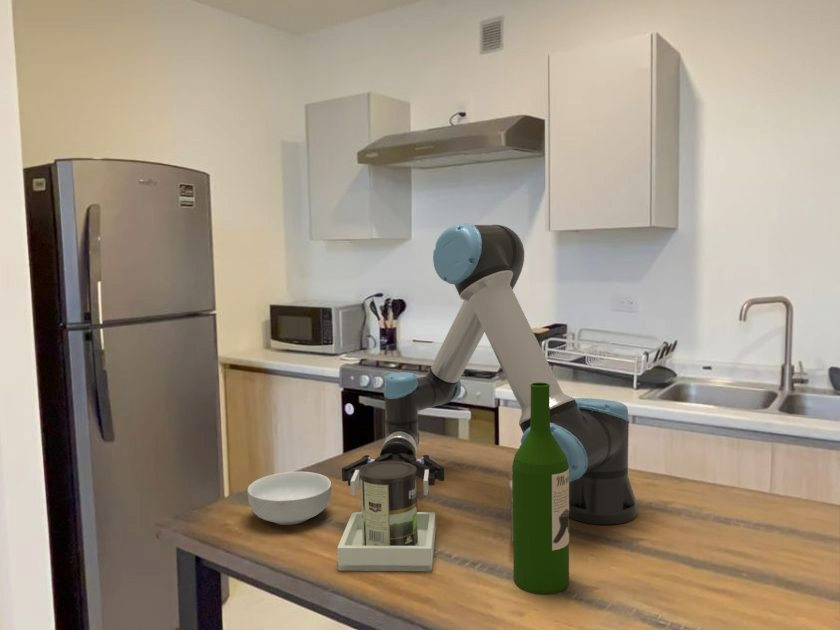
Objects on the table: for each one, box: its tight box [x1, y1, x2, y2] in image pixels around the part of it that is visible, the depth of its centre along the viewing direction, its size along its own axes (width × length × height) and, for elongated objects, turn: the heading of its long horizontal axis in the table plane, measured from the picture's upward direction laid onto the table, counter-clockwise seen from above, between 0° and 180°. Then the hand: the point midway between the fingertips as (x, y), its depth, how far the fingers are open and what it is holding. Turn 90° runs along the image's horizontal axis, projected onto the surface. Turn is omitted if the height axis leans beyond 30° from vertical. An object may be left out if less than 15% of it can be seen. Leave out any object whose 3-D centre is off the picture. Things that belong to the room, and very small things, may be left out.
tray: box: [336, 511, 436, 572], centre depth 123 cm, size 16×16×4 cm
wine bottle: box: [512, 383, 570, 595], centre depth 109 cm, size 9×9×32 cm
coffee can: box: [359, 461, 418, 546], centre depth 123 cm, size 10×10×14 cm
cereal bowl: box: [246, 471, 332, 526], centre depth 139 cm, size 17×17×7 cm
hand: (389, 488), depth 126 cm, fingers open, 13 cm apart
